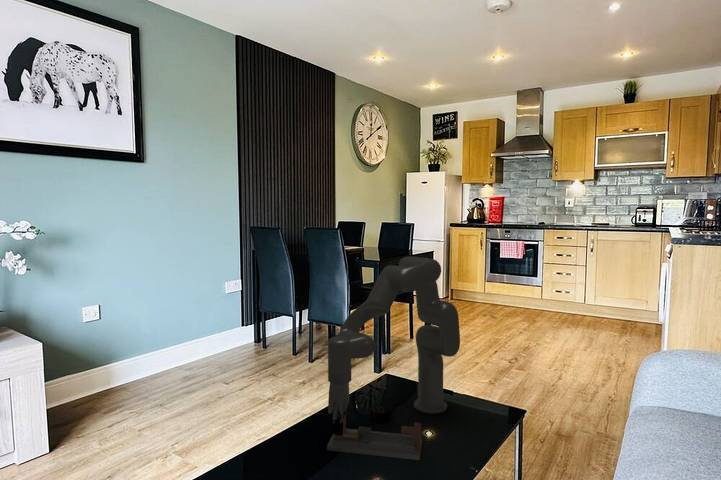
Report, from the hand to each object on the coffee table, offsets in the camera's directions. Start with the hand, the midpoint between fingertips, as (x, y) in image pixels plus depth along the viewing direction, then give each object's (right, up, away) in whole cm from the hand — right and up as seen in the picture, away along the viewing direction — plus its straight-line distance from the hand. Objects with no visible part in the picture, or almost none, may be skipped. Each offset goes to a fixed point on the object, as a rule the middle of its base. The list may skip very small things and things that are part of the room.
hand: (340, 430), depth 142 cm
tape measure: (+14, -4, +18) cm, 23 cm away
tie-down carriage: (+4, -3, -1) cm, 5 cm away
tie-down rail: (+11, -4, -2) cm, 12 cm away
